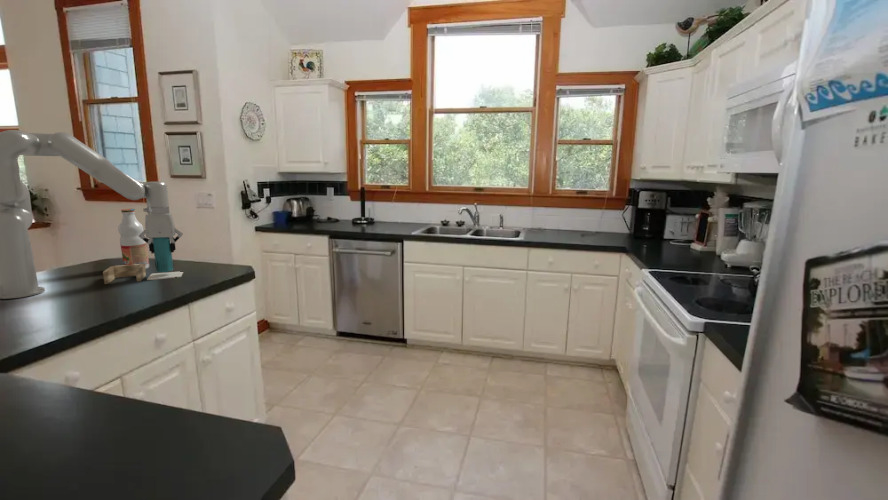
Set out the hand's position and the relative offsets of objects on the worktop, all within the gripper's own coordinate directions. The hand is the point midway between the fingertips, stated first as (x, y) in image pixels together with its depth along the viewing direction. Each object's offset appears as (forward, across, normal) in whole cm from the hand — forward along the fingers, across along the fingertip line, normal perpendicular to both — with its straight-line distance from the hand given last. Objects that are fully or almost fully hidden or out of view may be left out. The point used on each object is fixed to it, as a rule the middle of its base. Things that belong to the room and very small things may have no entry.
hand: (162, 252), depth 174 cm
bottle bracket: (+11, -14, 0) cm, 18 cm away
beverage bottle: (+10, 0, 0) cm, 10 cm away
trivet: (+11, 0, 0) cm, 11 cm away
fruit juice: (+11, -14, +20) cm, 27 cm away
